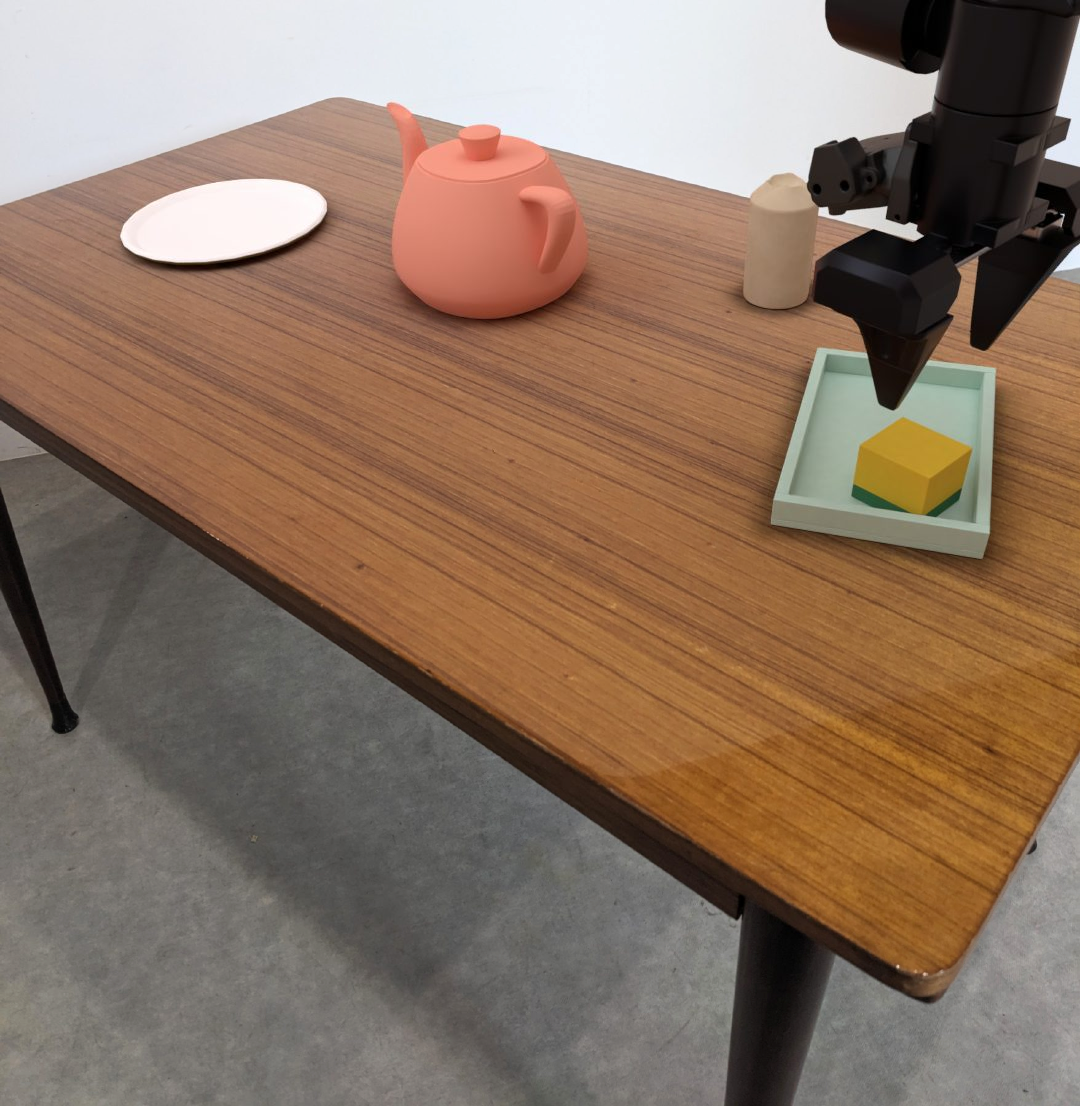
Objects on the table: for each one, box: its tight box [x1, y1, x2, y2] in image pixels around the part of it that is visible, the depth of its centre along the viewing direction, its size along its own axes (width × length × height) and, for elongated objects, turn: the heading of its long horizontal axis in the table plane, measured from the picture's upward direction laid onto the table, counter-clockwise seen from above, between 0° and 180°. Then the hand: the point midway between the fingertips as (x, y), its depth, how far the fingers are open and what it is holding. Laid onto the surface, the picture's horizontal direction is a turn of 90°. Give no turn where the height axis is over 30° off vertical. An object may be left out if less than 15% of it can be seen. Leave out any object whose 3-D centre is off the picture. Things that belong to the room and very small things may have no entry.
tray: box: [770, 346, 997, 560], centre depth 71 cm, size 20×13×2 cm, turn 161°
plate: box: [119, 178, 328, 266], centre depth 107 cm, size 21×21×1 cm
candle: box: [742, 172, 820, 310], centre depth 87 cm, size 6×6×10 cm
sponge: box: [851, 417, 972, 517], centre depth 65 cm, size 5×4×4 cm
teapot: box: [386, 101, 590, 320], centre depth 91 cm, size 25×17×13 cm
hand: (934, 376), depth 61 cm, fingers open, 9 cm apart
